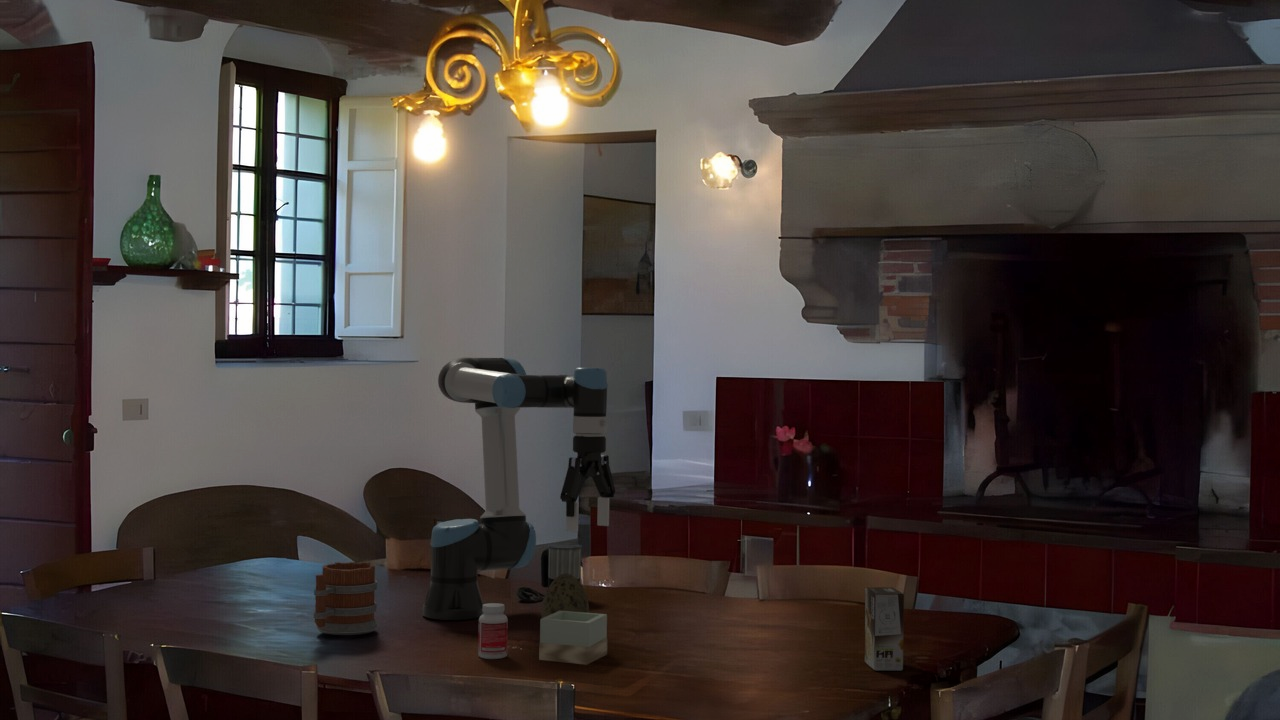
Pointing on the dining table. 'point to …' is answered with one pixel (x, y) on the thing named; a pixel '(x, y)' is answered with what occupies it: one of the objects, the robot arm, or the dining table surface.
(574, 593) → the decorative egg
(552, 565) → the milk frother
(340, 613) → the mug
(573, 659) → the tower base
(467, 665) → the dining table surface
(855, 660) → the dining table surface
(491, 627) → the pill bottle
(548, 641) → the tower top
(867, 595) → the coffee box
